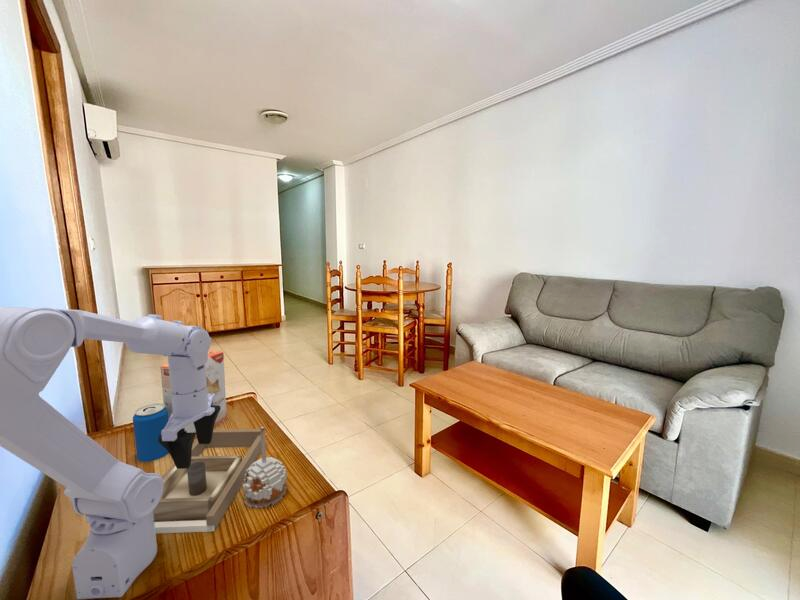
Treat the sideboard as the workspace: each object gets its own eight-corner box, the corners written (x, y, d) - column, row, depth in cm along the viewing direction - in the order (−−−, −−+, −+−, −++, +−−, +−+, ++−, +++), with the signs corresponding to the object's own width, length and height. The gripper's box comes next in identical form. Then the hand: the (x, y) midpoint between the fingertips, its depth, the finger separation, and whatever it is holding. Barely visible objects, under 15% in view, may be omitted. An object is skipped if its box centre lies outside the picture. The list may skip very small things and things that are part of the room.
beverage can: (166, 445, 83) (162, 399, 81) (175, 455, 79) (171, 408, 77) (134, 457, 78) (128, 409, 76) (142, 469, 74) (136, 418, 72)
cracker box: (184, 450, 81) (177, 368, 78) (166, 445, 83) (158, 365, 79) (229, 421, 94) (224, 350, 91) (212, 418, 96) (206, 348, 93)
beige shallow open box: (213, 518, 60) (211, 489, 59) (143, 520, 59) (140, 491, 58) (242, 470, 72) (241, 446, 72) (185, 471, 72) (183, 447, 71)
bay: (214, 535, 57) (212, 510, 56) (123, 539, 56) (120, 514, 55) (265, 446, 83) (264, 428, 82) (203, 448, 82) (201, 429, 81)
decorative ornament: (236, 500, 65) (231, 429, 63) (271, 478, 71) (268, 413, 69) (259, 519, 61) (255, 444, 58) (294, 494, 67) (292, 425, 65)
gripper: (189, 405, 55) (195, 479, 57) (228, 373, 70) (232, 433, 72) (145, 406, 55) (153, 480, 57) (193, 373, 69) (198, 434, 71)
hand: (194, 454), depth 64 cm, fingers open, 7 cm apart
